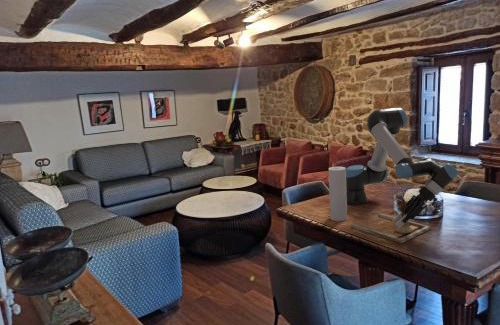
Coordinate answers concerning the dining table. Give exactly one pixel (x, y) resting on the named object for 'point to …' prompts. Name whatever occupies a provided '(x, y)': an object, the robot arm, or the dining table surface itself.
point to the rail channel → (400, 240)
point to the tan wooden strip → (398, 234)
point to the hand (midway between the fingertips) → (395, 224)
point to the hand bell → (406, 227)
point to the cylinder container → (337, 193)
